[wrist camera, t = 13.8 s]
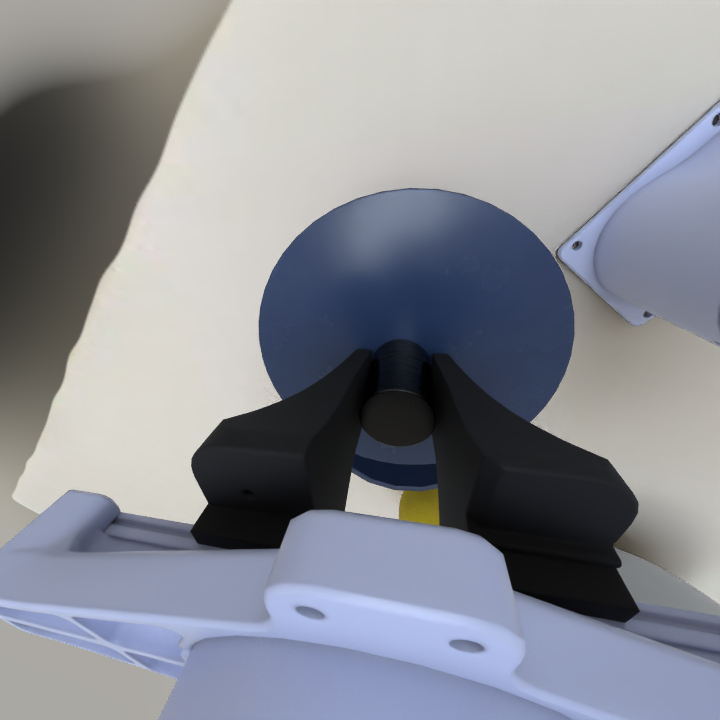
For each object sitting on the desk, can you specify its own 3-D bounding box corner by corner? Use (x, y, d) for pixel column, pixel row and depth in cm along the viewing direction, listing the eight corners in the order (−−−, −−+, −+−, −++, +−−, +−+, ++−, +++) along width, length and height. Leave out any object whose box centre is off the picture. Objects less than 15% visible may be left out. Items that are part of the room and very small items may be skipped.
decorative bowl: (731, 587, 31) (884, 777, 21) (507, 610, 44) (535, 736, 33) (636, 451, 24) (800, 641, 14) (401, 525, 36) (395, 653, 26)
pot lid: (374, 89, 8) (341, -8, 4) (636, 338, 11) (764, 417, 7) (231, 363, 15) (166, 422, 11) (414, 479, 18) (414, 561, 14)
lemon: (437, 500, 32) (443, 580, 26) (394, 485, 32) (388, 561, 26) (459, 473, 29) (472, 556, 23) (411, 457, 29) (410, 534, 23)
